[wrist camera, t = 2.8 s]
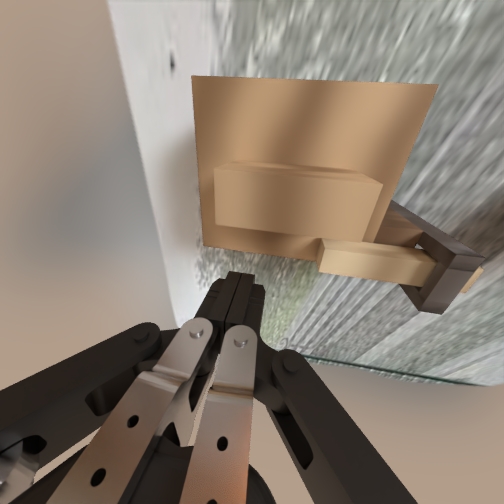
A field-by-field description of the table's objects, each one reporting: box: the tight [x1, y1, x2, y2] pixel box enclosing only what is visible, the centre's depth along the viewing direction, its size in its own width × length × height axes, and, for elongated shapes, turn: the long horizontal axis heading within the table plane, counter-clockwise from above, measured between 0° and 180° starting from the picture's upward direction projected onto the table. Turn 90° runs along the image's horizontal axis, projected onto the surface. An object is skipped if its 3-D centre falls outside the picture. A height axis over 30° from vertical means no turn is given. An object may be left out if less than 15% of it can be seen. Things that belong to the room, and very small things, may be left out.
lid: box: [191, 76, 438, 261], centre depth 13 cm, size 14×12×8 cm
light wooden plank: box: [316, 238, 484, 293], centre depth 15 cm, size 10×2×2 cm, turn 86°
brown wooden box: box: [373, 200, 485, 315], centre depth 17 cm, size 18×13×13 cm
